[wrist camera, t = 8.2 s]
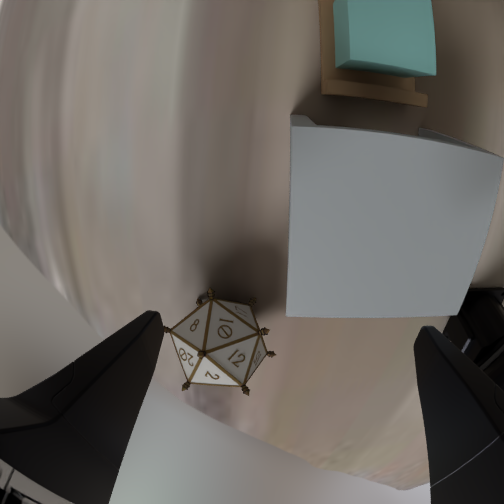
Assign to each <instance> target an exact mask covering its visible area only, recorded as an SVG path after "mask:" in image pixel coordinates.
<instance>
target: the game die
mask: <svg viewBox="0 0 504 504" xmlns="http://www.w3.org/2000/svg"><path fill="white" fill-rule="evenodd" d="M214 292H215V291H213V290H212V289H211V288H209V290H208V292H207V294H208V297H209V298H210V299H208V300H207V301H206V302H204V303H202V301H201V299H198V298H197V302H196V304H197V305H198V306H199V307H197V308H196V309H195V310H194V311H193V312H191V313H190V314H189V315H188V316H186V317H185V318H184V319H183V320H181V321H180V322H179V323H178V324H176V325H175V326H174V327H173V328H171V329H170V328H168V327H165V326H163V327H164V332H166V333H170V335H171V338H172V341H173V343H174V346H175V349H176V352H177V355H178V358H179V360H180V363H181V366H182V368H183V371H184V374H185V376H186V379H187V382H186V383H184V384H183V385H182V391H184V390H188V388H189V386H190V384H200V385H213V386H228V387H242V391H243V393H244V394H246V395H248V396H249V391H250V389H248V387H247V386H246V385H245V384H246V383H247V382H248V380H249V379H250V377H251V376H252V375H253V373H254V372H255V370H256V369H257V368H258V366H259V365H260V363H261V362H262V361H263V359H264V358H265V356H266V355H267V356H269V357H271V358H272V357H273V356H275V355H276V354H275V353H274V351H269V352H268V351H267V349H266V346H265V343H264V340H263V337H262V335H268V332H269V331H270V330H269V329H267V328H265V327H264V328H262V329H261V330H260V328H259V326H258V323H257V320H256V318H255V315H254V313H253V310H252V305H254V304H255V303H256V298H253V299H250V301H249V304H243V303H238V302H232V301H227V300H222V299H216V298H214V296H215V294H214Z"/></svg>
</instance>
